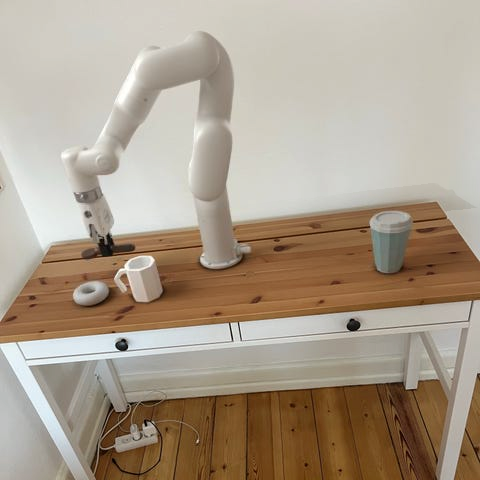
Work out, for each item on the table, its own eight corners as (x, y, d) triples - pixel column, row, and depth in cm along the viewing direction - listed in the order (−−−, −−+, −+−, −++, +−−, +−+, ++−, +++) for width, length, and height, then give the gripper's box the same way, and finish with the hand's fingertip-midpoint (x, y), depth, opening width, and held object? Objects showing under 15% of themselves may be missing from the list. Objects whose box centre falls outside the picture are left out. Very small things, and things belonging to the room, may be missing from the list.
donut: (96, 310, 145) (117, 290, 152) (92, 300, 143) (113, 280, 150) (67, 305, 149) (89, 286, 156) (63, 295, 147) (86, 276, 154)
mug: (162, 283, 152) (155, 253, 147) (162, 299, 145) (154, 268, 139) (121, 291, 152) (111, 260, 146) (118, 307, 145) (108, 276, 139)
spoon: (138, 246, 156) (135, 239, 155) (134, 254, 152) (131, 247, 151) (85, 252, 159) (82, 245, 157) (80, 260, 155) (77, 253, 153)
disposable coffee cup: (362, 263, 147) (362, 212, 138) (398, 254, 148) (400, 203, 139) (379, 281, 138) (380, 228, 129) (418, 271, 139) (421, 218, 131)
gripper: (92, 204, 138) (114, 266, 148) (110, 180, 151) (128, 239, 161) (65, 207, 139) (88, 268, 149) (85, 184, 152) (105, 241, 162)
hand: (109, 252), depth 155 cm, fingers closed on spoon, 2 cm apart
